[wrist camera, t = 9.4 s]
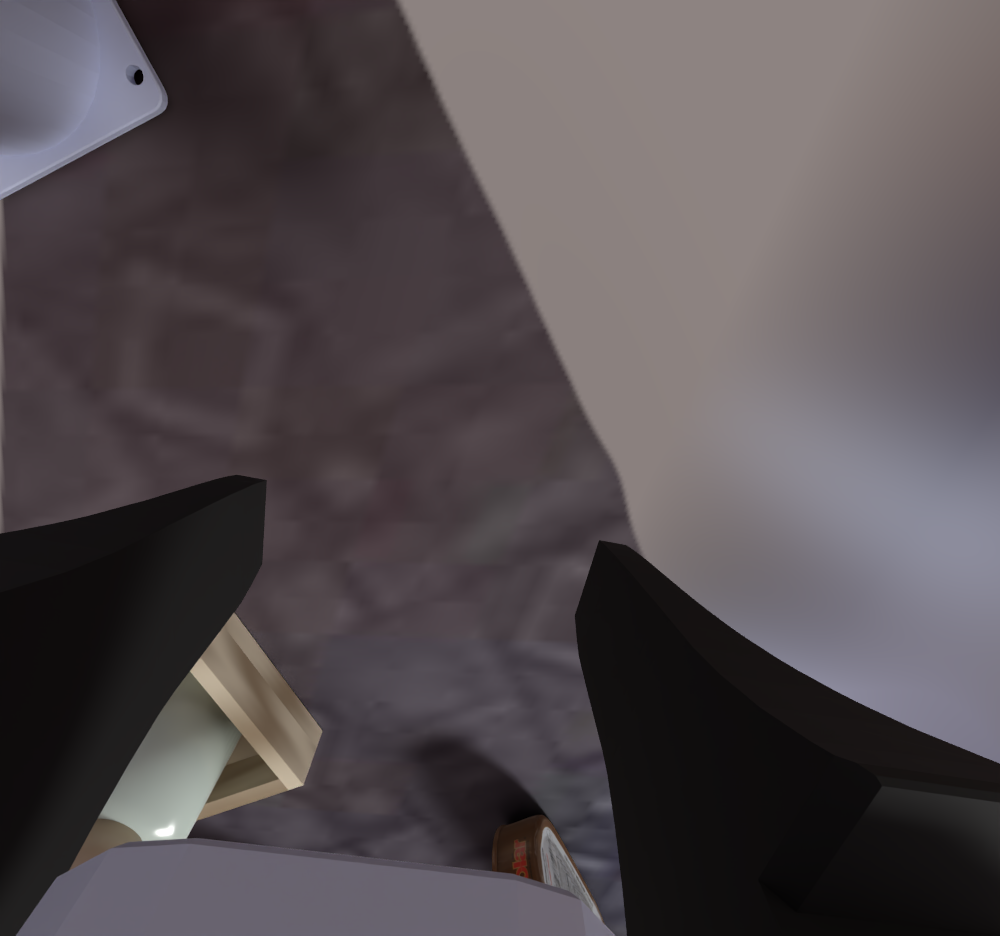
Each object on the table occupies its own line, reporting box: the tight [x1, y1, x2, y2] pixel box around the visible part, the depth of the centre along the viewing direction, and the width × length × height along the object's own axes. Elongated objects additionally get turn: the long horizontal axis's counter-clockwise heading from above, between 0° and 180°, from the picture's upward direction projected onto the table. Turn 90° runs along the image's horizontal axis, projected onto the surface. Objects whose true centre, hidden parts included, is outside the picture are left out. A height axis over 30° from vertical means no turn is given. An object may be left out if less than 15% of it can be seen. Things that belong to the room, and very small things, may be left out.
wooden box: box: [190, 613, 322, 821], centre depth 25 cm, size 8×8×3 cm
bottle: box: [70, 672, 242, 870], centre depth 21 cm, size 5×5×8 cm
